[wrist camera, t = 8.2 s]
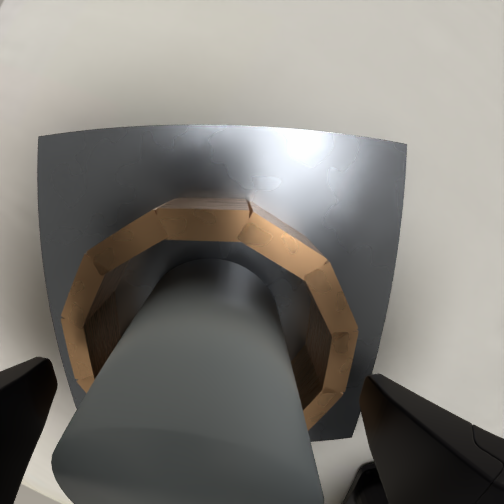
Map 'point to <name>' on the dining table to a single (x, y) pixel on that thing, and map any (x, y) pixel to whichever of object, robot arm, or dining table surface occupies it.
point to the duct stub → (194, 403)
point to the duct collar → (226, 240)
